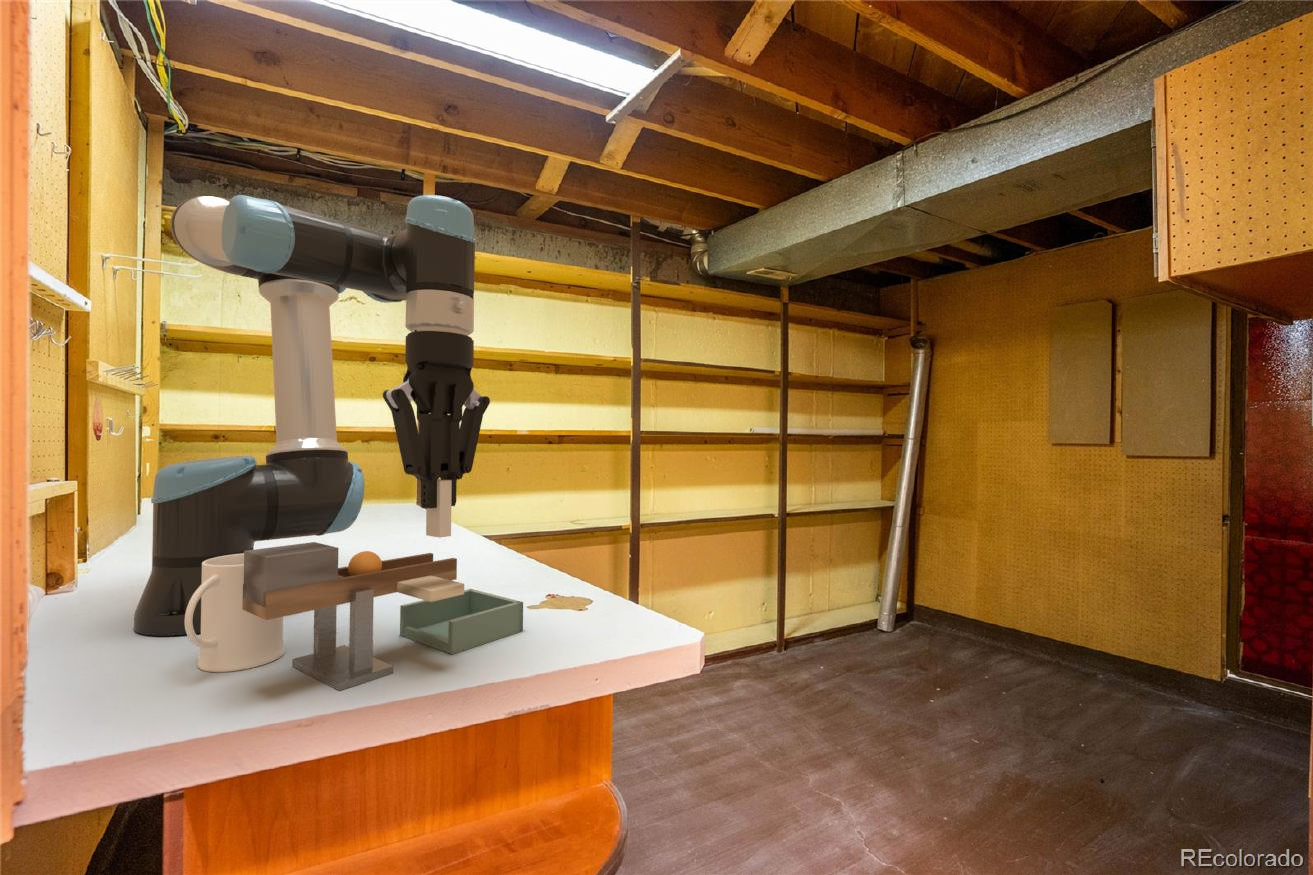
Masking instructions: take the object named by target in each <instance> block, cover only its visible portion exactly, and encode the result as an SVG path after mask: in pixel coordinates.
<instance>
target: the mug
mask: <svg viewBox="0 0 1313 875" xmlns="http://www.w3.org/2000/svg"><path fill="white" fill-rule="evenodd" d="M243 584H244V553H242V554H233V555H226V556H220V557H215V558H211V559H208V560H205V561H203V562H202V584H201V585H200V586H199V588H198V589H197V590H196V591H195V593H194V594H193V596H192V597H191V599H190V601H189V603H188V606H187V609H186V613H185V630H186V633H187V634H186V635H187V638H188V639H189V641H190V642H191V643H192V644H193V645H195V646H196V647H198V648H200V649H199V655H198V656H199V657H198V661H197V668H198V669H199V670H201V671H203V672H209V673H228V672H229V673H230V672H237V671H243V670H244V671H245V670H248V669H252V668H253V669H254V668H257V667H261V666H263V665H267V664H269V663H272V662H274V661H276V660H277V659H279V658H281V657H282V656H284V655H285V650H286V649H285V645H284V630H283V629H284V617H279V618H275V619H270V620H265V619H262V618H260V617H258V616H256V615H254V614H251V613H249V612H247V611H245V610H243V609H242V601H243ZM200 597H201V633H200V637H199V636H198V635H197V633H195V631H194V629H193V613H194V609H195V607H196V604H197V602H198V601H199V599H200Z"/></svg>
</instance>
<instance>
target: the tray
mask: <svg viewBox="0 0 1313 875" xmlns="http://www.w3.org/2000/svg"><path fill="white" fill-rule="evenodd" d="M399 610H400V611H399V636H402V637H404V638H407V639H409V640H412V641H415V642H417V641H418V642H417V643H420V644H422V643H423V645H425V646H428V647H431V646H432V647H431V648H433V647H434V648H433V649H436V648H437V649H436V650H440V651H441V650H443V651H442V652H444V651H446V652H445V653H447V654H449V653H450V654H449V655H454V654H458V653H461V652H464V651H467V650H470V649H473V648H475V647H478V646H481V645H485V644H487V643H490V642H494V641H497V640H499V639H503V638H506V637H508V636H512V635H514V634H517V633H520V632H523V631H524V602H523V601H520V600H516V599H512V598H509V597H505V596H500V595H496V594H492V593H488V592H485V591H481V590H478V589H473V588H469V589H464V594H462V595H458V596H454V597H450V598H446V599H441V600H437V601H433V602H429V601H425V600H422V599H421V600H419V601H414V602H409V603H405V604H402V605H400V607H399ZM463 650H464V651H463Z"/></svg>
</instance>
